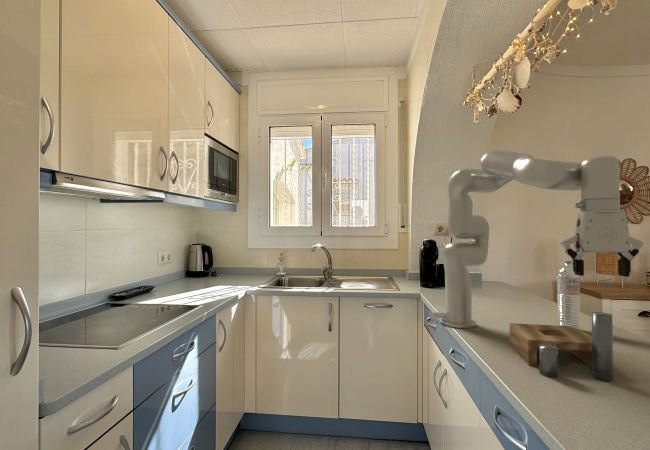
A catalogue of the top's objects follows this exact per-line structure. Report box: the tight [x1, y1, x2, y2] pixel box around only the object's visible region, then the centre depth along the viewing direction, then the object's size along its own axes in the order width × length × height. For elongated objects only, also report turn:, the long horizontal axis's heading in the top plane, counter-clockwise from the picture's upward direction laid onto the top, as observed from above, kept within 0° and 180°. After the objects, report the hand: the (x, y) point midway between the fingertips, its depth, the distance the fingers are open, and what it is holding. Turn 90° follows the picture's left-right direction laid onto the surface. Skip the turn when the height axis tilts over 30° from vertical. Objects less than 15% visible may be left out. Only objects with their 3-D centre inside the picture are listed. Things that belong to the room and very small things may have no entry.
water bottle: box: [556, 260, 581, 330], centre depth 124 cm, size 7×7×25 cm
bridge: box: [509, 323, 592, 368], centre depth 99 cm, size 18×16×7 cm
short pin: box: [538, 344, 559, 379], centre depth 87 cm, size 4×4×7 cm
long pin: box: [591, 311, 614, 383], centre depth 85 cm, size 4×4×16 cm
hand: (601, 275), depth 85 cm, fingers open, 9 cm apart
